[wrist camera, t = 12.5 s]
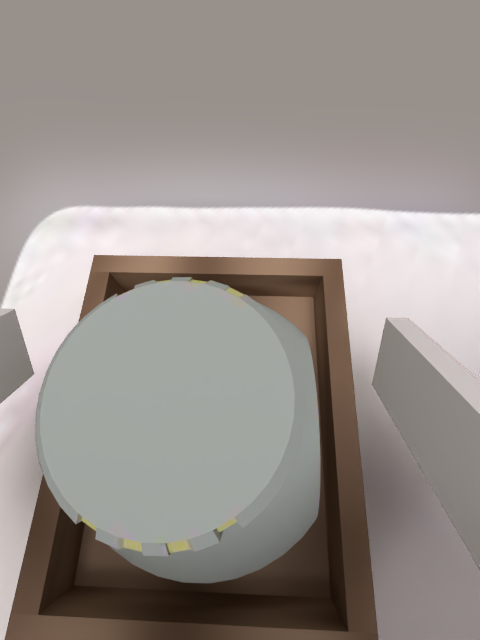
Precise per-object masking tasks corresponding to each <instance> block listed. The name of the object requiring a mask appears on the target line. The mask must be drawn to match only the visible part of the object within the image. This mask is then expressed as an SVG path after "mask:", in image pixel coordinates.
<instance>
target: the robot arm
mask: <svg viewBox="0 0 480 640" xmlns="http://www.w3.org/2000/svg"><path fill="white" fill-rule="evenodd" d="M32 375H34V372H33V368H32V365H31V362H30V358H29V355H28V352H27V348H26V345H25V342H24V339H23V335H22V332H21V329H20V325H19V322H18V319H17V315H16V312H15V309H0V403H2V402H3V401H4V400H5V399H6V398H7V397H8V396H10V395H11V394H12V393H13V392H14V391H15V390H16V389H18V388H19V387H20V386H21V385H22V384H23V383H24V382H26V381H27V380H28V379H29V378H30V377H31V376H32ZM372 385H373V387H374V389H375V391H376V392H377V394H378V396H379V397H380V399H381V401H382V403H383V404H384V406H385V408H386V409H387V411H388V413H389V415H390V416H391V418H392V420H393V422H394V423H395V425H396V427H397V428H398V430H399V432H400V434H401V435H402V437H403V439H404V440H405V442H406V444H407V446H408V447H409V449H410V451H411V453H412V454H413V456H414V458H415V459H416V461H417V463H418V465H419V466H420V468H421V470H422V471H423V473H424V475H425V477H426V478H427V480H428V482H429V484H430V485H431V487H432V489H433V490H434V492H435V494H436V496H437V497H438V499H439V501H440V502H441V504H442V506H443V508H444V509H445V511H446V513H447V514H448V516H449V518H450V520H451V521H452V523H453V525H454V527H455V528H456V530H457V532H458V533H459V535H460V537H461V539H462V540H463V542H464V544H465V545H466V547H467V549H468V551H469V552H470V554H471V556H472V558H473V559H474V561H475V563H476V564H477V566H478V568H479V570H480V381H479V380H478V379H477V378H476V377H475V376H474V375H473V374H471V373H470V372H469V371H468V370H467V369H466V368H465V367H464V366H462V365H461V364H460V363H459V362H458V361H457V360H456V359H454V358H453V357H452V356H451V355H450V354H449V353H448V352H447V351H445V350H444V349H443V348H442V347H441V346H440V345H439V344H437V343H436V342H435V341H434V340H433V339H432V338H431V337H430V336H428V335H427V334H426V333H425V332H424V331H423V330H422V329H420V328H419V327H418V326H417V325H416V324H415V323H414V322H413V321H411V320H410V319H409V318H386V321H385V326H384V330H383V335H382V340H381V345H380V349H379V354H378V359H377V363H376V368H375V373H374V377H373V382H372Z"/></svg>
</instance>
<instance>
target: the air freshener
mask: <svg viewBox="0 0 480 640" xmlns="http://www.w3.org/2000/svg"><path fill="white" fill-rule="evenodd" d="M36 445H37V451H38V457H39V463H40V465H41V468H42V471H43V474H44V477H45V480H46V482H47V485H48V487H49V489H50V490H51V492H52V494H53V495H54V497H55V499H56V501H57V502H58V504H59V506H60V507H61V508H62V509H63V510H64V512H65V513H66V514H67V515H68V516H69V517H70V518H71V519H72V521H73V522H74V523H75V524H77V523H79V522H81V521H83V522H84V523H86V524H87V525H88V526H90V527H91V528H92V529H94V530H95V531H96V538H95V539H96V540H99V541H101V542H103V543H105V544H107V545H109V546H110V547H111V548H112V549H113V550H114V551H115V552H117V553H118V554H119V555H121V556H122V557H123V558H125V559H126V560H127V561H129V562H130V563H131V564H133V565H135V566H137V567H139V568H141V569H143V570H145V571H147V572H149V573H151V574H154V575H156V576H158V577H162V578H166V579H170V580H175V581H179V582H183V583H215V582H220V581H226V580H232V579H237V578H239V577H242V576H244V575H247V574H249V573H252V572H255V571H257V570H260V569H262V568H263V567H265V566H266V565H268V564H270V563H271V562H273V561H274V560H276V559H278V558H279V557H281V556H282V555H284V554H285V553H286V552H287V551H288V550H289V549H290V548H291V547H292V546H293V545H295V544H296V543H297V542H298V541H299V540H300V539H301V538H302V537H303V536H304V535H305V533H306V532H307V531H308V529H309V528H310V527H311V525H312V524H313V523H314V521H315V520H316V518H317V516H318V510H319V499H320V432H319V415H318V402H317V391H316V382H315V374H314V367H313V360H312V355H311V350H310V346H309V342H308V339H307V337H306V336H305V335H304V334H303V333H302V332H301V331H300V330H299V329H298V328H297V327H296V326H295V325H294V324H293V323H292V322H290V321H289V320H287V319H286V318H285V317H283V316H282V315H280V314H279V313H278V312H276V311H274V310H272V309H270V308H268V307H266V306H264V305H262V304H260V303H258V302H256V301H254V300H253V299H251V298H250V297H249V296H247V295H246V294H245V295H244V294H242V293H240V292H238V291H236V290H234V289H232V288H230V287H229V286H227V285H224V284H221V283H218V282H215V281H212V280H210V281H208V282H205V281H199V280H193V279H192V277H173V278H172V279H171V280H165V281H158V282H157V281H155V280H152V281H148V282H145V283H141V284H138V285H135V287H134V289H132V290H130V291H128V292H126V293H123V294H121V295H118V294H115V295H113V296H112V297H110V298H109V299H107V300H105V301H104V302H102V303H101V304H99V305H98V306H97V307H95V308H94V309H93V310H92V311H91V312H89V313H88V314H87V315H86V316H85V317H83V318H82V320H81V321H80V322H79V323H78V324H77V325H76V326H75V327H74V328H73V329H72V331H71V332H70V333H69V334H68V335H67V337H66V338H65V340H64V341H63V343H62V344H61V346H60V347H59V348H58V350H57V351H56V353H55V355H54V357H53V359H52V361H51V363H50V365H49V367H48V370H47V372H46V375H45V378H44V381H43V384H42V387H41V390H40V393H39V399H38V405H37V411H36Z"/></svg>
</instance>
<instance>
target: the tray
mask: <svg viewBox="0 0 480 640" xmlns="http://www.w3.org/2000/svg"><path fill="white" fill-rule="evenodd" d="M173 277H192V279H193V280H199V281H205V282H208V281H210V280H212V281H215V282H218V283H221V284H224V285H227V286H229V287H230V288H232V289H234V290H236V291H238V292H240V293H242V294H244V295H245V294H246V295H247V296H249V297H250V298H251V299H253V300H254V301H256V302H258V303H260V304H262V305H264V306H266V307H268V308H270V309H272V310H274V311H276V312H278V313H279V314H280V315H282V316H283V317H285V318H286V319H287V320H289V321H290V322H292V323H293V324H294V325H295V326H296V327H297V328H298V329H299V330H300V331H301V332H302V333H303V334H304V335H305V336H306V337H307V339H308V342H309V346H310V350H311V355H312V360H313V367H314V374H315V382H316V391H317V402H318V415H319V432H320V499H319V510H318V516H317V518H316V520H315V521H314V523H313V524H312V525H311V527H310V528H309V529H308V531H307V532H306V533H305V535H304V536H303V537H302V538H301V539H300V540H299V541H298V542H297V543H296V544H295V545H293V546H292V547H291V548H290V549H289V550H288V551H287V552H286V553H285V554H284V555H282V556H281V557H279V558H278V559H276V560H274V561H273V562H271V563H270V564H268V565H266V566H265V567H263V568H262V569H260V570H257V571H255V572H252V573H249V574H247V575H244V576H242V577H239V578H237V579H232V580H226V581H220V582H215V583H183V582H179V581H175V580H170V579H166V578H162V577H158V576H156V575H154V574H151V573H149V572H147V571H145V570H143V569H141V568H139V567H137V566H135V565H133V564H131V563H130V562H129V561H127V560H126V559H125V558H123V557H122V556H121V555H119V554H118V553H117V552H115V551H114V550H113V549H112V548H111V547H110V546H109V545H107V544H105V543H103V542H101V541H99V540H96V539H95V538H96V531H95V530H94V529H92V528H91V527H90V526H88V525H87V524H86V523H84V522H83V521H81V522H79V523H77V524H75V523H74V522H73V521H72V519H71V518H70V517H69V516H68V515H67V514H66V513H65V512H64V510H63V509H62V508H61V507H60V506H59V504H58V502H57V501H56V499H55V497H54V495H53V494H52V492H51V490H50V489H49V487H48V485H47V482H46V480H45V477H44V474H43V477H42V481H41V486H40V490H39V494H38V498H37V503H36V507H35V511H34V516H33V520H32V524H31V528H30V533H29V537H28V541H27V546H26V550H25V554H24V558H23V563H22V567H21V571H20V576H19V580H18V584H17V588H16V593H15V597H14V601H13V606H12V610H11V614H10V618H9V623H8V627H7V631H6V636H5V640H378V632H377V621H376V611H375V601H374V590H373V580H372V570H371V559H370V549H369V539H368V529H367V518H366V508H365V498H364V487H363V477H362V467H361V456H360V446H359V436H358V426H357V415H356V405H355V395H354V384H353V374H352V364H351V353H350V343H349V333H348V323H347V312H346V302H345V292H344V281H343V271H342V261H341V259H298V258H236V257H175V256H113V255H94V258H93V263H92V267H91V271H90V276H89V280H88V284H87V288H86V293H85V297H84V301H83V306H82V310H81V314H80V318H79V322H80V321H81V320H82V318H83V317H85V316H86V315H87V314H88V313H89V312H91V311H92V310H93V309H94V308H95V307H97V306H98V305H99V304H101V303H102V302H104V301H105V300H107V299H109V298H110V297H112V296H113V295H115V294H118V295H121V294H123V293H126V292H128V291H130V290H132V289H134V287H135V285H138V284H141V283H145V282H148V281H152V280H155V281H157V282H158V281H165V280H171V279H172V278H173Z"/></svg>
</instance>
